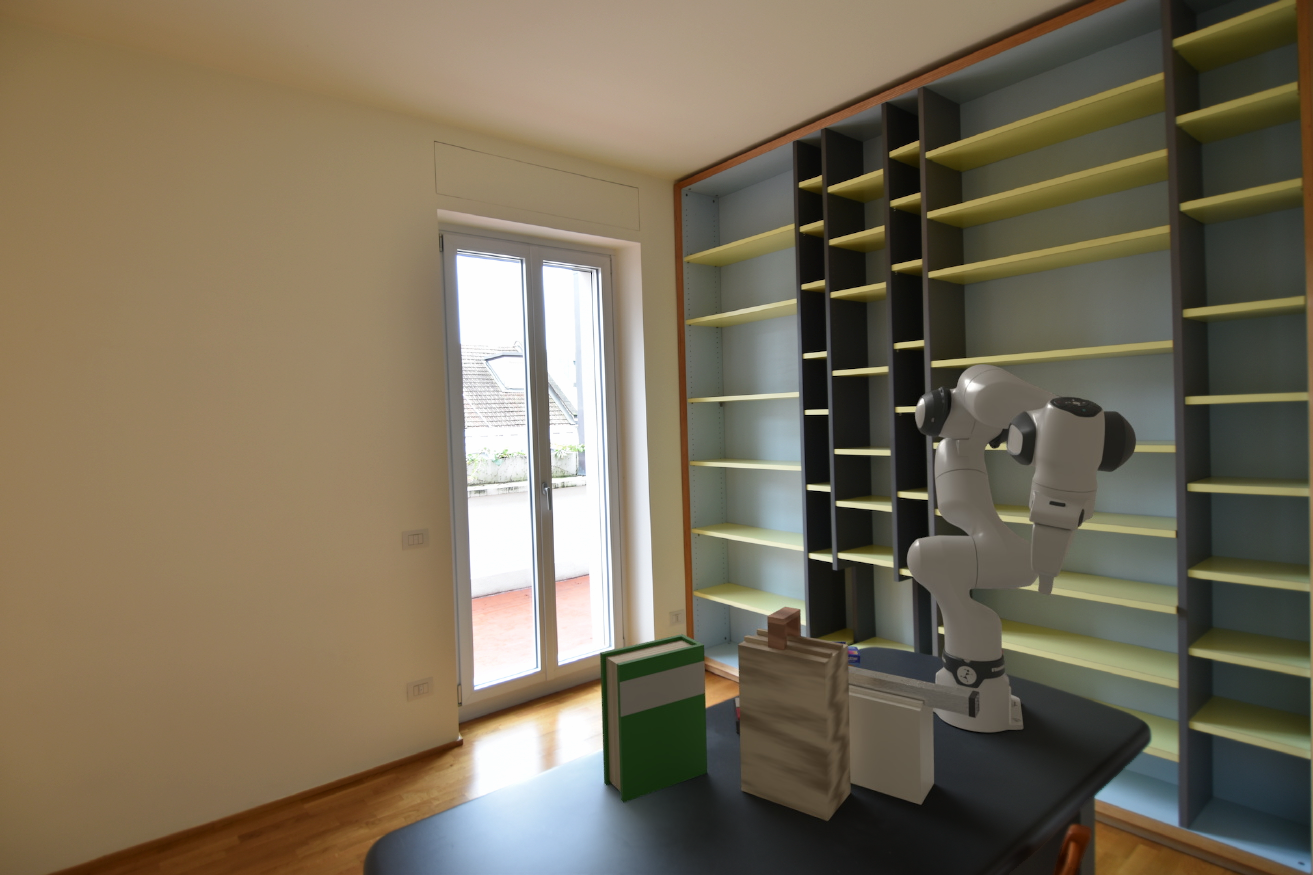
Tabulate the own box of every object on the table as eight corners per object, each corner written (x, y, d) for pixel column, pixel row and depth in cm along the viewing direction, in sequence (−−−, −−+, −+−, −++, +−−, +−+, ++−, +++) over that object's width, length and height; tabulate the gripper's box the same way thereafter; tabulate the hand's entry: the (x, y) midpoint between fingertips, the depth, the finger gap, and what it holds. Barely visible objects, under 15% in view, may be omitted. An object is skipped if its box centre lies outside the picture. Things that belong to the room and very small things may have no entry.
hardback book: (623, 802, 117) (619, 664, 116) (604, 783, 124) (600, 652, 123) (707, 772, 126) (704, 644, 125) (685, 755, 133) (682, 634, 132)
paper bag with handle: (767, 765, 128) (764, 600, 127) (850, 792, 118) (847, 613, 117) (741, 790, 120) (737, 614, 119) (827, 820, 110) (824, 629, 109)
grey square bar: (840, 680, 128) (840, 663, 127) (979, 710, 113) (979, 691, 113) (833, 685, 125) (833, 668, 125) (975, 717, 111) (975, 698, 111)
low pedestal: (856, 760, 129) (855, 673, 128) (934, 783, 121) (932, 689, 120) (840, 779, 123) (838, 687, 122) (921, 804, 114) (919, 706, 114)
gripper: (1048, 482, 118) (1037, 557, 121) (1028, 514, 102) (1016, 599, 105) (1091, 489, 114) (1079, 566, 117) (1077, 523, 98) (1063, 611, 101)
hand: (1049, 582), depth 111 cm, fingers open, 8 cm apart
